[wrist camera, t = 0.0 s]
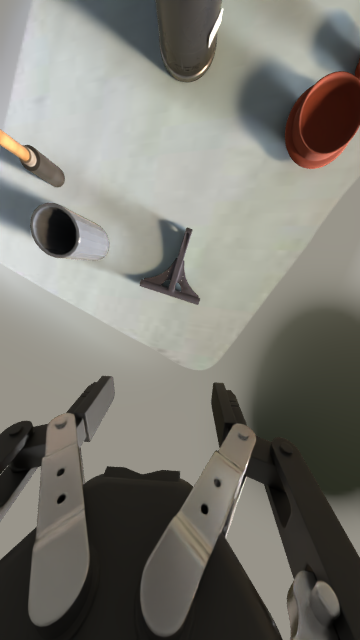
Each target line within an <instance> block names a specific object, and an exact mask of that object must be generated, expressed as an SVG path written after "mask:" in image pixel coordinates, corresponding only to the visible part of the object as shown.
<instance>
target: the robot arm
mask: <svg viewBox="0 0 360 640" xmlns="http://www.w3.org/2000/svg"><path fill="white" fill-rule="evenodd" d="M221 3H222V0H156V9H157V19H158V28H159V42H160V51H161V56H162V60H163V63H164V65H165V67H166V69H167V70H168V72H169V73H170V74H171V75H172V76H173V77H174V78H175V79H177V80H179V81H182V82H192V81H195V80H197V79H199V78H200V77H202V76H203V75H204V74H205V73H206V71H207V70H208V69H209V67H210V65H211V63H212V61H213V58H214V55H215V50H216V44H217V32H218V27H219V25H220V23H221V19H222V12H223V9H222V11H221V13H220V10H221ZM114 393H115V392H114V381H113V377H112V376H102V377H101V378H100V379H99V381H98V382H94V383H93V384H91V385H90V386H88V387H87V388H86V390H85V391H84V393H82V394H81V396H80V397H79V398H78V399H77V400H76V402H75V403H74V404H73V405H72V406H71V408H70V409H69V410H68V411H67V412H66V413H64V414H61V415H59V416H57V417H55V418H54V419H52V420H51V422H49V424H45V425H41V426H36V427H33V425H32V423H31V422H30V421H21V422H18V423H16V424H13V425H12V426H10V427H8V428H7V429H6V430H4V431H3V432H2V433H1V434H0V474H1V473H2V471H4V472H3V473H2V474H1V475H0V521H1V520H2V519H3V517H4V516H5V514H6V513H7V511H8V510H9V508H10V507H11V505H12V504H13V503H14V501H15V500H16V498H17V497H18V495H19V494H20V492H21V491H22V490H23V488H24V487H25V485H26V484H27V482H28V481H29V479H30V478H31V477H32V475H33V474H34V472H35V471H36V469H37V468H38V467H39V466H41V477H40V490H39V504H38V518H37V527H36V528H35V529H34V530H33V531H32V532H31V533H29V534H28V535H27V536H26V537H25V538H24V539H23V540H22V541H21V542H20V543H18V544H17V545H16V546H15V547H14V548H13V549H12V550H11V551H10V552H9V553H8V554H6V555H5V556H4V557H3V558H2V559H1V560H0V640H282V637H281V635H280V633H279V630H278V628H277V626H276V624H275V622H274V620H273V618H272V616H271V614H270V613H269V611H268V609H267V607H266V606H265V604H264V603H263V601H262V599H261V597H260V596H259V594H258V593H257V591H256V589H255V587H254V586H253V584H252V582H251V580H250V579H249V577H248V576H247V574H246V572H245V570H244V569H243V567H242V565H241V564H240V562H239V560H238V559H237V557H236V555H235V554H234V552H233V550H232V548H231V547H230V545H229V543H228V542H227V540H226V536H227V533H228V531H229V528H230V525H231V522H232V519H233V515H234V512H235V509H236V506H237V503H238V500H239V497H240V495H241V492H242V489H243V486H244V483H245V480H246V477H249V478H252V479H254V480H256V481H258V482H261V483H263V484H264V486H265V489H266V492H267V495H268V499H269V501H270V505H271V508H272V511H273V514H274V517H275V521H276V524H277V527H278V530H279V534H280V537H281V540H282V543H283V546H284V549H285V552H286V556H287V559H288V562H289V565H290V568H291V572H292V575H293V578H294V581H293V583H292V585H291V587H290V589H289V591H288V594H287V609H288V614H289V620H290V627H291V637H290V640H360V557H359V556H358V554H357V552H356V550H355V549H354V547H353V545H352V543H351V542H350V540H349V538H348V536H347V534H346V533H345V531H344V529H343V528H342V526H341V524H340V522H339V521H338V519H337V517H336V515H335V513H334V512H333V510H332V508H331V506H330V505H329V503H328V501H327V499H326V497H325V496H324V494H323V492H322V491H321V489H320V487H319V485H318V483H317V482H316V480H315V478H314V476H313V474H312V473H311V471H310V469H309V467H308V466H307V464H306V462H305V460H304V459H303V457H302V455H301V453H300V452H299V450H298V449H297V447H296V446H295V445H294V444H293V443H291V442H290V441H288V440H287V439H284V438H280V437H277V438H274V439H273V440H272V442H270V441H268V440H265V439H262V438H260V437H258V436H256V435H255V434H254V432H253V431H252V430H251V429H250V428H249V427H248V426H247V425H246V422H245V419H244V417H243V414H242V412H241V409H240V407H239V404H238V402H237V399H236V396H235V395H234V394H233V393H232V391H231V390H226V389H225V386H224V384H223V383H213V391H212V400H211V404H212V411H213V416H214V421H215V426H216V432H217V437H218V442H219V448H220V449H219V450H218V451H215V452H214V453H213V455H212V457H211V458H210V460H209V462H208V463H207V465H206V467H205V469H204V470H203V472H202V474H201V476H200V477H199V479H198V481H197V482H196V484H195V485H194V487H193V486H192V485H190V484H189V483H188V482H186V481H185V480H183V479H180V471H169V470H167V471H166V470H161V471H156V472H152V473H147V474H139V473H137V472H134V471H132V470H129V469H127V468H124V467H108V466H107V468H106V470H105V473H104V474H101V475H99V476H96V477H94V478H92V479H91V480H89V481H87V482H86V483H85V478H84V470H83V463H82V455H81V448H80V446H81V445H82V443H83V441H84V442H90V441H91V439H92V437H93V435H94V434H95V432H96V430H97V428H98V426H99V425H100V423H101V421H102V419H103V417H104V415H105V414H106V412H107V410H108V408H109V407H110V405H111V403H112V401H113V399H114ZM8 465H9V466H8ZM7 466H8V467H7ZM6 467H7V468H6ZM5 468H6V469H5ZM4 469H5V470H4Z"/></svg>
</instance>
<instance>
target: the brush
mask: <svg viewBox="0 0 360 640" xmlns="http://www.w3.org/2000/svg"><path fill="white" fill-rule="evenodd" d="M0 145H1V146H2V147H4V148H5V149H7V150H8V151H10V152H11V153H13V154H14V155H16V156H17V157H19V159H20V161H21V163H22V165H23V166H24V167H25V168H26V169H27V170H29V171H30V172H32V173H33V174H35V175H37V176H38V177H40V178H41V179H43V180H45V181H46V182H48V183H49V184H51V185H53V186H54V187H61V186H62V185H63V184H64V181H65V177H64V173H63V171H62V170H61V169H60V168H59V167H58V166H56V165H55V164H54V163H53V162H51V161H50V160H49V159H48V158H46V157H45V156H44V155H43V154H41V153H40V152H39V151H38V150H36V149H35V148H34V147H32V146H30V145H21V144H19V143H18V142H17V141H15V140H14V139H13V138H11V137H10V136H9V135H7V134H6V133H5V132H3V131H2V130H1V129H0Z"/></svg>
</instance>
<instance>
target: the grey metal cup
mask: <svg viewBox="0 0 360 640" xmlns="http://www.w3.org/2000/svg"><path fill="white" fill-rule="evenodd" d="M30 228H31V233H32V236H33V238H34V240H35V243H36V244H37V245H38V246H39V248H40V249H41V250H42V251H44V252H45V253H46V254H48V255H50V256H52V257H55V258H64V259H76V260H88V261H98V260H101V259H102V258H104V257H105V256H106V254H107V253H108V250H109V239H108V236H107V234H106V232H105V231H104V229H103V228H102V227H101V226H99V225H98V224H96V223H94V222H92V221H90V220H88V219H86V218H84V217H82V216H80V215H78V214H76V213H74V212H72V211H70V210H69V209H67V208H65V207H63V206H60V205H58V204H55V203H45V204H42V205H40V206H38V207H37V208H36V209H35V210H34V212H33V214H32V217H31V222H30Z"/></svg>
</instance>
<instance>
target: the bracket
mask: <svg viewBox="0 0 360 640" xmlns="http://www.w3.org/2000/svg"><path fill="white" fill-rule="evenodd" d="M191 233H192V229H190V228H186V231H185V234H184V238H183V241H182V245H181V248H180V252H179V255H178V258H176V259H175V261H174V262H173V264H172V265H171V266H170V267H169V268H168V269H167V270H166V271H165V272H163V273H162V274H160V275H158V276H155V277H150V278H144V280H143V279H141V282H140V286H142V287H145V288H148V289H151V290H154V291H157V292H160V293H163V294H166V295H169V296H172V297H175V298H178V299H181V300H184V301H187V302H191V303H194V304H197V305H198V304H199V301H200V298H198V295H197V294H196V293H195V292H194V291H193V290H192V289H191V287H190V286H189V284H188V282H187V280H186V277H185V272H184V260H183V259H184V256H185V253H186V249H187V246H188V243H189V240H190V237H191ZM168 271H169V272H168ZM167 275H168V276H167ZM166 280H171V282H170V285H169V287H164V286H162V283H163V282H164V281H166ZM181 280H182V281H181ZM176 282H177V283H179V284H180V286H181V292H179V291H176V290H175V285H176Z"/></svg>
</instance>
